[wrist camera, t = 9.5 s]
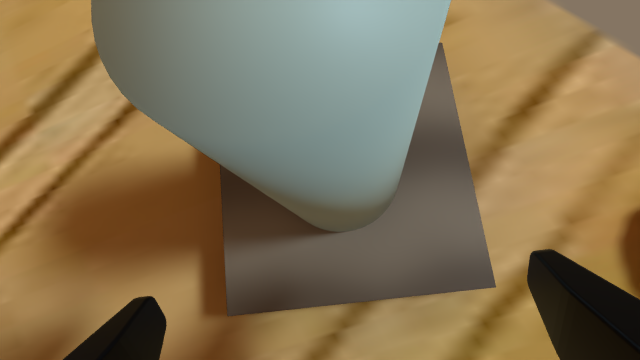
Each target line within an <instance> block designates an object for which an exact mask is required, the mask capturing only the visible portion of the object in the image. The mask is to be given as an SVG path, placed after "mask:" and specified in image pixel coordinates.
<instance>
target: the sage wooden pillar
mask: <svg viewBox="0 0 640 360" xmlns="http://www.w3.org/2000/svg"><path fill="white" fill-rule="evenodd" d="M450 2H451V0H91V12H92V26H93V32H94V38H95V42H96V46H97V49H98V52H99V55H100V58H101V60H102V62H103V64H104V66H105V68H106V70H107V72H108V74H109V76H110V78H111V79H112V80H113V82H114V83H115V85H116V86H117V87H118V89H119V90H120V91H121V93H122V94H123V95H124V96H125V97H126V98H127V99H128V100H129V101H130V102H131V103H132V104H133V105H134V106H135V107H136V108H137V109H138V110H140V111H141V112H143V113H144V114H145V115H147V116H148V117H150V118H151V119H152V120H154V121H155V122H157V123H158V124H160V125H161V126H163V127H164V128H166V129H167V130H169V131H170V132H172V133H173V134H175V135H176V136H178V137H179V138H181V139H182V140H184V141H185V142H187V143H188V144H190V145H191V146H193V147H194V148H196V149H198V150H199V151H201V152H202V153H204V154H205V155H207V156H208V157H210V158H211V159H213V160H214V161H216V162H217V163H219V164H220V165H222V166H223V167H225V168H226V169H228V170H229V171H231V172H232V173H234V174H235V175H237V176H238V177H240V178H241V179H243V180H244V181H246V182H247V183H249V184H251V185H252V186H254V187H255V188H257V189H258V190H260V191H261V192H263V193H264V194H266V195H267V196H269V197H270V198H272V199H273V200H275V201H276V202H278V203H279V204H281V205H282V206H284V207H285V208H287V209H288V210H290V211H291V212H293V213H294V214H296V215H297V216H299V217H300V218H302V219H304V220H305V221H307V222H308V223H310V224H311V225H313V226H315V227H318V228H320V229H323V230H327V231H333V232H347V231H353V230H357V229H360V228H363V227H365V226H367V225H369V224H370V223H372V222H374V221H375V220H376V219H378V218H379V217H380V216H381V215H382V214H383V213H384V212H385V211H386V210H387V208H388V207H389V205H390V204H391V202H392V200H393V198H394V196H395V193H396V191H397V187H398V184H399V180H400V177H401V173H402V170H403V166H404V163H405V159H406V156H407V152H408V149H409V145H410V142H411V138H412V135H413V131H414V128H415V124H416V121H417V117H418V114H419V110H420V107H421V103H422V100H423V96H424V93H425V89H426V86H427V82H428V79H429V75H430V72H431V68H432V65H433V61H434V58H435V54H436V51H437V47H438V44H439V40H440V37H441V33H442V30H443V26H444V23H445V19H446V16H447V12H448V9H449V5H450Z"/></svg>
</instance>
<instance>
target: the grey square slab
mask: <svg viewBox="0 0 640 360" xmlns="http://www.w3.org/2000/svg"><path fill="white" fill-rule="evenodd" d="M220 175H221V195H222V216H223V236H224V256H225V276H226V297H227V316H235V315H244V314H253V313H262V312H272V311H281V310H290V309H299V308H309V307H318V306H327V305H336V304H346V303H355V302H364V301H373V300H383V299H392V298H401V297H410V296H420V295H429V294H438V293H447V292H457V291H466V290H475V289H484V288H494V287H496V285H495V280H494V276H493V271H492V267H491V262H490V258H489V253H488V249H487V244H486V240H485V235H484V230H483V226H482V221H481V217H480V212H479V208H478V203H477V199H476V194H475V190H474V185H473V181H472V176H471V172H470V167H469V162H468V158H467V153H466V149H465V144H464V140H463V135H462V131H461V126H460V122H459V117H458V113H457V108H456V104H455V99H454V95H453V90H452V85H451V81H450V76H449V72H448V67H447V63H446V58H445V54H444V49H443V45H442V43H439V44H438V47H437V51H436V54H435V58H434V61H433V65H432V68H431V72H430V75H429V79H428V82H427V86H426V89H425V93H424V96H423V100H422V103H421V107H420V110H419V114H418V117H417V121H416V124H415V128H414V131H413V135H412V138H411V142H410V145H409V149H408V152H407V156H406V159H405V163H404V166H403V170H402V173H401V177H400V180H399V184H398V187H397V191H396V193H395V196H394V198H393V200H392V202H391V204H390V205H389V207H388V208H387V210H386V211H385V212H384V213H383V214H382V215H381V216H380V217H379V218H378V219H376V220H375V221H374V222H372V223H370V224H369V225H367V226H365V227H363V228H360V229H357V230H353V231H347V232H333V231H327V230H323V229H320V228H318V227H315V226H313V225H311V224H310V223H308V222H307V221H305V220H304V219H302V218H300V217H299V216H297V215H296V214H294V213H293V212H291V211H290V210H288V209H287V208H285V207H284V206H282V205H281V204H279V203H278V202H276V201H275V200H273V199H272V198H270V197H269V196H267V195H266V194H264V193H263V192H261V191H260V190H258V189H257V188H255V187H254V186H252V185H251V184H249V183H247V182H246V181H244V180H243V179H241V178H240V177H238V176H237V175H235V174H234V173H232V172H231V171H229V170H228V169H226V168H225V167H223V166H222V165H220Z"/></svg>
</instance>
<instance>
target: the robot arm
mask: <svg viewBox="0 0 640 360" xmlns="http://www.w3.org/2000/svg"><path fill="white" fill-rule="evenodd" d="M527 282H528V286H529V289H530V291H531V294H532V296H533V298H534V301H535V303H536V306H537V308H538V310H539V313H540V315H541V318H542V320H543V322H544V325H545V327H546V330H547V332H548V334H549V337H550V339H551V341H552V344H553V346H554V348H555V350H556V353H557V355H558V357H559V358H560V360H640V300H639V299H638V298H636V297H634V296H632V295H631V294H629V293H627V292H626V291H624V290H622V289H620V288H619V287H617V286H615V285H613V284H612V283H610V282H608V281H607V280H605V279H603V278H601V277H600V276H598V275H596V274H594V273H593V272H591V271H589V270H588V269H586V268H584V267H582V266H581V265H579V264H577V263H575V262H574V261H572V260H570V259H569V258H567V257H565V256H563V255H562V254H560V253H558V252H556V251H554V250H552V249H545V250H537V251H533V252H532V253H531V255H530V260H529V267H528V275H527ZM165 331H166V318H165V316H164V314H163V312H162V310H161V309H160V307H159V305H158V303H157V302H156V300H155V298H153V297H152V296H146V297H138V298H135V299H133V300H132V301H131V302H130V303H128V304H127V305H126V306H125V307H124V308H123V309H121V310H120V311H119V312H118V313H117V314H116V315H114V316H113V317H112V318H111V319H110V320H109V321H107V322H106V323H105V324H104V325H103V326H102V327H100V328H99V329H98V330H97V331H96V332H94V333H93V334H92V335H91V336H90V337H89V338H87V339H86V340H85V341H84V342H83V343H82V344H80V345H79V346H78V347H77V348H76V349H75V350H73V351H72V352H71V353H70V354H69V355H68V356H66V357H65V358H64V359H63V360H159V358H160V354H161V349H162V345H163V340H164V335H165Z"/></svg>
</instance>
